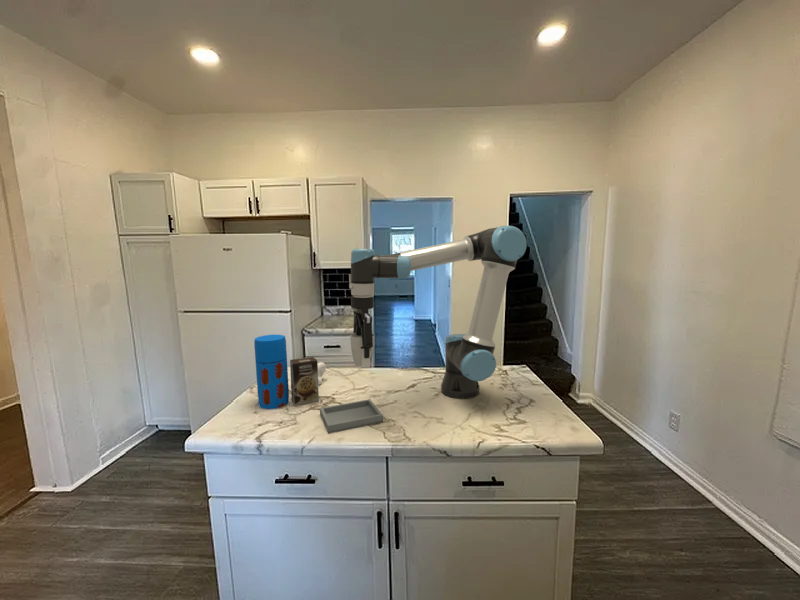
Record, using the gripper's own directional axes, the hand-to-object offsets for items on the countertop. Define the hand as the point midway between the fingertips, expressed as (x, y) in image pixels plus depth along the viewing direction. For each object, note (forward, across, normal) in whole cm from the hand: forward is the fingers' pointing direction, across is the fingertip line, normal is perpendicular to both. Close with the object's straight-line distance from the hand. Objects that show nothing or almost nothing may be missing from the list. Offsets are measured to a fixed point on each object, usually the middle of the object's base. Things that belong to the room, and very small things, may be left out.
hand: (362, 363), depth 119 cm
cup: (0, 0, 0) cm, 0 cm away
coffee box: (+19, -20, -16) cm, 32 cm away
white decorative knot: (+19, -39, -12) cm, 45 cm away
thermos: (+19, -23, -28) cm, 41 cm away
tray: (+18, +1, -4) cm, 19 cm away
